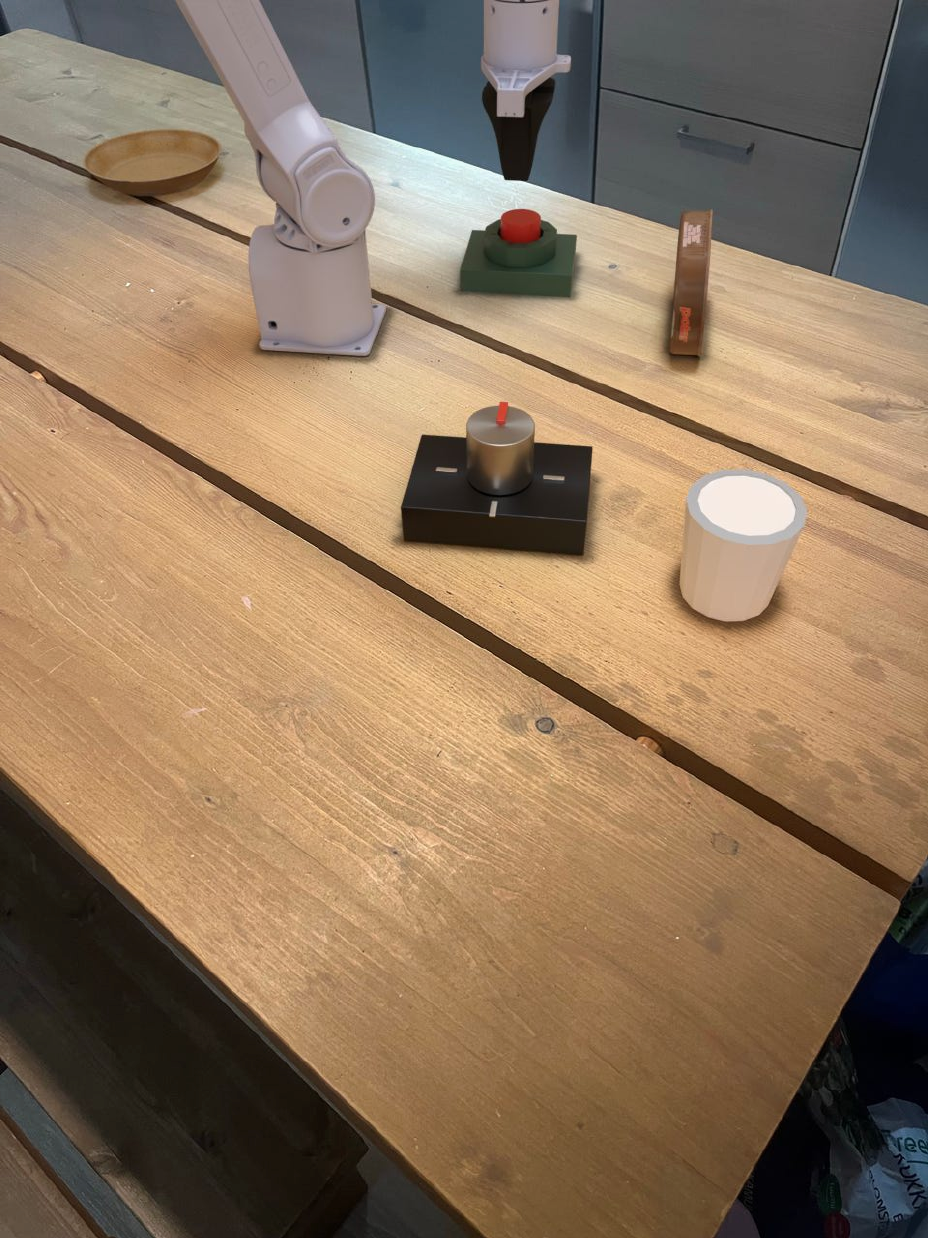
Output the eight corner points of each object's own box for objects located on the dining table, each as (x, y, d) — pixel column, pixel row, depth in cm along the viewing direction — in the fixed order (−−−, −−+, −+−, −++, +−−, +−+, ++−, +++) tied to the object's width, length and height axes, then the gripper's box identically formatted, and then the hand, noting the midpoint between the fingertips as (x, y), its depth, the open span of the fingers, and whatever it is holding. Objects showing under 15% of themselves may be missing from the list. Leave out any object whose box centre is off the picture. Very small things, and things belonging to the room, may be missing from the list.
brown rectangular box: (699, 376, 77) (717, 277, 71) (659, 372, 77) (674, 273, 71) (704, 286, 87) (721, 192, 81) (669, 283, 87) (683, 190, 81)
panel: (402, 544, 64) (399, 507, 61) (424, 465, 69) (422, 429, 67) (583, 559, 62) (586, 522, 60) (589, 477, 68) (593, 441, 66)
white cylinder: (757, 645, 57) (784, 559, 52) (652, 602, 59) (667, 517, 54) (795, 576, 61) (824, 490, 56) (694, 539, 63) (713, 453, 58)
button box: (460, 291, 87) (459, 249, 84) (472, 251, 92) (471, 210, 89) (570, 297, 86) (573, 255, 83) (575, 256, 91) (578, 215, 88)
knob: (530, 497, 62) (532, 443, 59) (462, 493, 62) (461, 439, 59) (535, 456, 65) (537, 403, 62) (471, 452, 65) (470, 399, 62)
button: (498, 244, 85) (498, 224, 84) (502, 226, 88) (503, 207, 87) (538, 246, 85) (539, 226, 84) (541, 228, 87) (542, 209, 86)
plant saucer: (163, 142, 113) (158, 118, 111) (253, 169, 107) (249, 145, 105) (62, 185, 105) (54, 160, 103) (152, 217, 99) (146, 192, 97)
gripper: (569, 22, 66) (557, 216, 76) (579, -32, 76) (568, 146, 86) (468, 19, 67) (470, 212, 77) (492, -33, 77) (491, 143, 87)
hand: (516, 177), depth 82 cm, fingers closed
